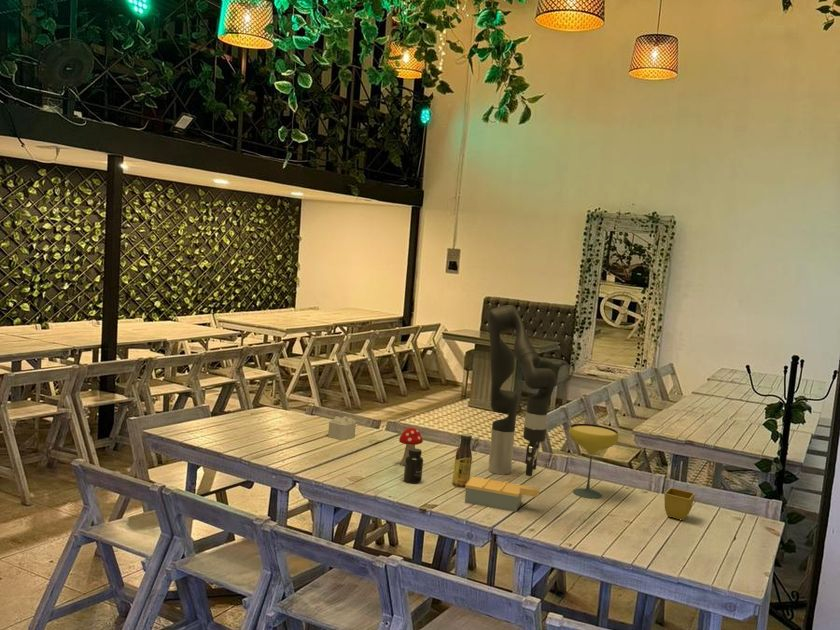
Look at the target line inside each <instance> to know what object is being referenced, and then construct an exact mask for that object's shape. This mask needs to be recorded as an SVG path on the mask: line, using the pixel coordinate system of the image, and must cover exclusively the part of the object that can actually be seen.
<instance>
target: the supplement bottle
mask: <svg viewBox="0 0 840 630" xmlns="http://www.w3.org/2000/svg"><path fill="white" fill-rule="evenodd" d="M408 454H409V455H408V456H407V457H406V459H405V466H404V468H403V469H404V470H403V471H404V472H403V481H404V482H405V481H406V483H409V484H419V483H421V482H422V477H423V466H424V459H423V457H422V449H420V448H416V447H415V448H411V449H409V453H408Z"/></svg>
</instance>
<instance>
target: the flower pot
mask: <svg viewBox="0 0 840 630" xmlns="http://www.w3.org/2000/svg"><path fill="white" fill-rule="evenodd" d="M695 496H696V493H695V492H691V491H687V490H684V489H683V490H682V489H678V488H674V487H668V489H667V490H666V491H665V492H664V496H663V497H664V498H663V499H664V510H665V513H666V516H667V517H668V516H669V517H673V518H677V519H681V520H683V521H685V519H686V518H687V516H688V515H689V513H690V512H691V510H692V507H693V503H694V499H695ZM669 517H668V518H669ZM673 518H672V519H673ZM677 519H676V520H677ZM681 520H680V521H681Z"/></svg>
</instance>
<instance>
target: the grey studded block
mask: <svg viewBox="0 0 840 630" xmlns="http://www.w3.org/2000/svg"><path fill="white" fill-rule="evenodd" d="M356 424H357V420H355V419H353V417H348V416H346V415H345V416H343V417H339V416H338V415H337V416H335V417H334V418H333V419H331V420H329V422H328V436H327V437H328V438H330V439H334V440H338V441H348V439H349V440H353V439H355V437H356V428H357V427H356Z"/></svg>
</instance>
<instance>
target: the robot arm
mask: <svg viewBox="0 0 840 630" xmlns="http://www.w3.org/2000/svg"><path fill="white" fill-rule="evenodd" d="M487 323H488V333H489V345H490V374H491V375H490V376H491V377H490V378H491V390H490V391H491V392H490V407H491V410H492V411H493V412H495V413H499V414H505V415H507V416H506V417H505V418H504V417H503V418H501V419H496V420H494V421H493V422H492V427H491V434H490V436H491V437H490V444H489V445H490V446H489V457H488V469H487V470H488V471H489V472H490V473H492V474H498V475H508V474H511V473H512V465H513V464H512V463H513V454H514V453H513V452H514V441H515V430H516V421H517V412H518V406H519V397H520V396H519V394H518V392H517V391H513V390H512V391H511V390H504V389H501V387H502V386H503V385H504V383H506V382H507V380H509V378H510V377H511V376H512V374H514V371H515V358H516V360H517V362H518V363H519V365H520V367H521V370H522V374H523V380H524V383H525V385H526V386H527V387H528V388H530V389H531V390H538V391H537V393H535V394H532V395H529V396H528V398H527V402H526V403H527V404H526V411H525V412H526V413H525V418H524V425H523V434H522V436H523V437H522V438H523V439H524V440H526V441H529V442H528V443H527V445H526V451H525V452H526V453H525V460H524V461H525V462H524V463H525V465H526V466H525V476H527V477H532V476H533V471H536V469H537V465H538V464H537V463H538V459H539V455H540V448H541V445H540V444H541V443H543V442H545V441H546V438H547V437H546V436H547V435H546V434H547V426H548V408H549V403H550V400H551V397H552V394H553V391H554V389H555V386H556V382H557V378H556V377H557V376H556V374H555V371H553V369H551V368H541V367H540V366H541V363H542V361H541V358H540V356H539V354H538V353H537V351H536V349H535V348H534V346H533V345H532V342H531V340H530V338H529V335H528V333H527V330H526V327H525V324H524V322H523V320H522V318H521V315H520V313H519V311H518V309H517V308H516V306H514V304H506V305H500V306H499V307H495V308H491V309H490V310H488V314H487ZM511 330H515V333H516V336H515V340H514V345H513V350H512V349H511V347H509V345H508V344H507V343H505V342H504V341H503V339H502V338H501V333H504V332H507V331H511ZM539 367H540V368H539ZM510 472H511V473H510Z"/></svg>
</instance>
